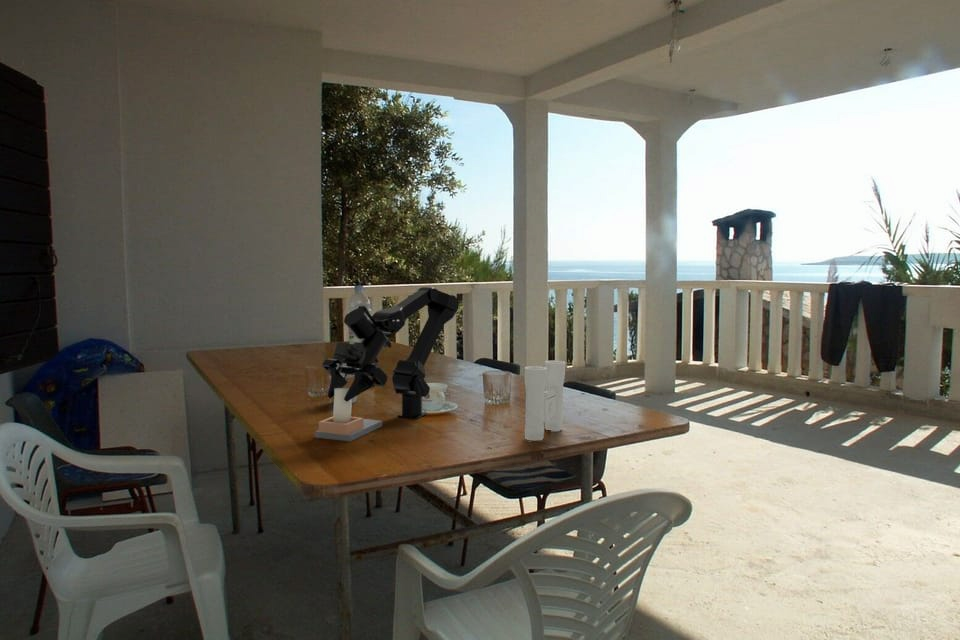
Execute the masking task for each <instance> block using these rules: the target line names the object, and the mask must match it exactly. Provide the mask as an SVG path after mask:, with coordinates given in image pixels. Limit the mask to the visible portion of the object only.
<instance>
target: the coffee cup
mask: <svg viewBox="0 0 960 640" xmlns="http://www.w3.org/2000/svg"><path fill="white" fill-rule="evenodd" d="M332 359H336V360H339V361H340V362H341V363H342V365H343V366H346V365H347V364H346V363H344V362H343V361H342V360H343V358H342V357H340V356H338V355H334V354H333V356H332ZM354 378H355V375H350V374H347V376H346V377H345V380H346V381H347V382H348V383H347V384H346V385H345V386H344V387H342V388H350V386H351V385H352V383H353V381H354ZM357 399H358V395H357V396H356V397H354V398H352V404H355V403H356V401H357Z"/></svg>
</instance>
